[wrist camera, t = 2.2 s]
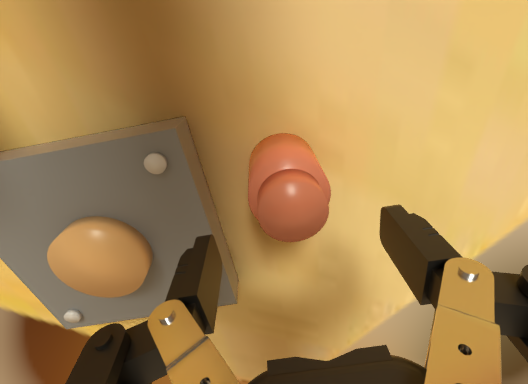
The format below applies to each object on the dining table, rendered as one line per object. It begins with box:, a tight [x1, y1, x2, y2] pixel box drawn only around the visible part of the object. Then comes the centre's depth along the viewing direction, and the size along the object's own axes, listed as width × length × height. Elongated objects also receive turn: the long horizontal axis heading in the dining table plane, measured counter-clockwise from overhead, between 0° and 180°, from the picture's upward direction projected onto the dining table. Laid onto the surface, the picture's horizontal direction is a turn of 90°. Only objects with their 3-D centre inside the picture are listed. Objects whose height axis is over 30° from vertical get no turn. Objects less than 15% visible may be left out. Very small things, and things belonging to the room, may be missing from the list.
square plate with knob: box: [0, 117, 238, 329], centre depth 19 cm, size 15×15×4 cm
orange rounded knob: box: [248, 133, 331, 242], centre depth 16 cm, size 5×5×6 cm
